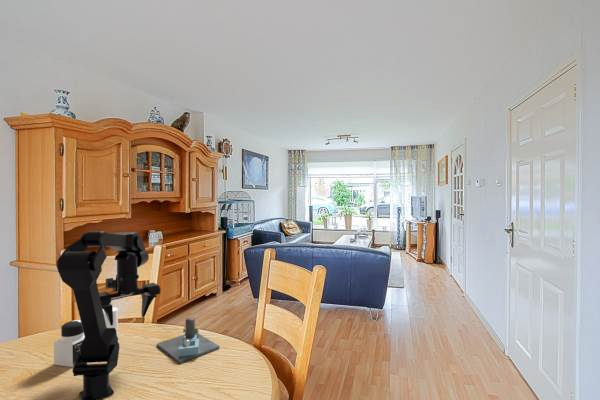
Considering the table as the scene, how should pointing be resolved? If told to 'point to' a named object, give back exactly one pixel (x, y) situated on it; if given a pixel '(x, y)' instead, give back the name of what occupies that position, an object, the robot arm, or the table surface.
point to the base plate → (173, 344)
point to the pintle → (187, 342)
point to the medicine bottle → (68, 344)
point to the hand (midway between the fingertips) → (127, 321)
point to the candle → (115, 319)
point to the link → (191, 335)
